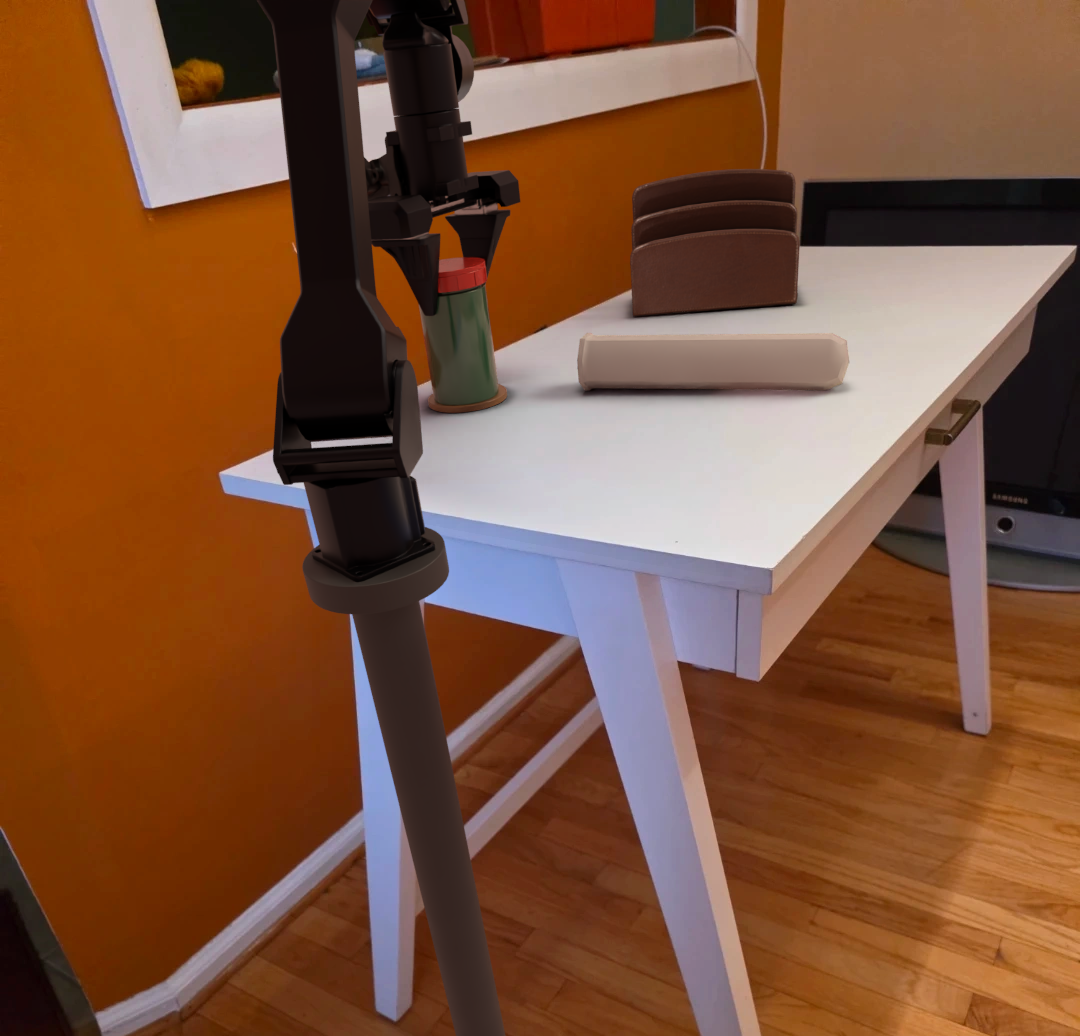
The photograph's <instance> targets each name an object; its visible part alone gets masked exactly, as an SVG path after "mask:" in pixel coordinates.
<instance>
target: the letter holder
mask: <svg viewBox="0 0 1080 1036" xmlns="http://www.w3.org/2000/svg"><path fill="white" fill-rule="evenodd" d="M796 184H797V182H796V178H795V175H794V174H793V173H792V172H790V171H788V170H781V169H765V168H733V169H731V168H730V169H718V170H708V171H701V172H695V173H688V174H682V175H677V176H672V177H667V178H663V179H659V180H655V181H651V182H647V183H644V184H641V185H638V186H637V187H635V188H634V190H633V192H632V196H631V203H632V225H631V228H630V229H631V231H630V234H631V252H630V255H629V264H630V279H631V280H630V281H631V306H632V308H631V309H632V316H633V317H644V316H645V317H646V316H656V315H671V314H672V315H674V314H684V313H697V312H708V311H709V312H712V311H723V310H731V309H732V310H733V309H746V308H747V309H748V308H758V307H759V308H760V307H774V306H787V305H788V306H789V305H796V304H797V302H798V296H799V295H798V294H799V293H798V287H799V267H800V266H799V263H800V246H801V243H800V237H799V235H798V234H797V233H798V232H797V231H798V208H797V207H796Z"/></svg>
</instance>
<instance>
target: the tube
mask: <svg viewBox="0 0 1080 1036" xmlns="http://www.w3.org/2000/svg"><path fill="white" fill-rule="evenodd" d="M576 359H577V360H576V363H577V365H576V366H577V377H578V384H579V385H580V386H581V387H582V389H583V390H584V391H586V392H587V391H588V392H589V391H591V390H593V389H639V390H640V389H644V390H645V389H647V390H649V389H650V390H651V389H652V390H654V389H655V390H657V389H658V390H662V389H663V390H738V391H739V390H753V391H754V390H755V391H756V390H757V391H759V390H760V391H828V390H831V389H833V388H835V387H837V386H840V385H842V384H843V383H844V379H845V376H846V373H847V372H848V371H847V370H848V369H849V364H850V355H849V346H848V340H847V339H846V338H843V337H841V336H839V335H837V334H835V333H833V332H832V333H831V332H827V333H825V332H824V333H823V332H820V333H819V332H818V333H815V332H814V333H722V334H721V333H720V334H719V333H716V334H715V333H713V334H711V333H710V334H709V333H708V334H613V335H612V334H610V335H609V334H607V335H606V334H603V335H602V334H601V335H598V334H593V332H586V333H584V335H583V336H582V337H580V338H579V343H578V351H577V358H576Z"/></svg>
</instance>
